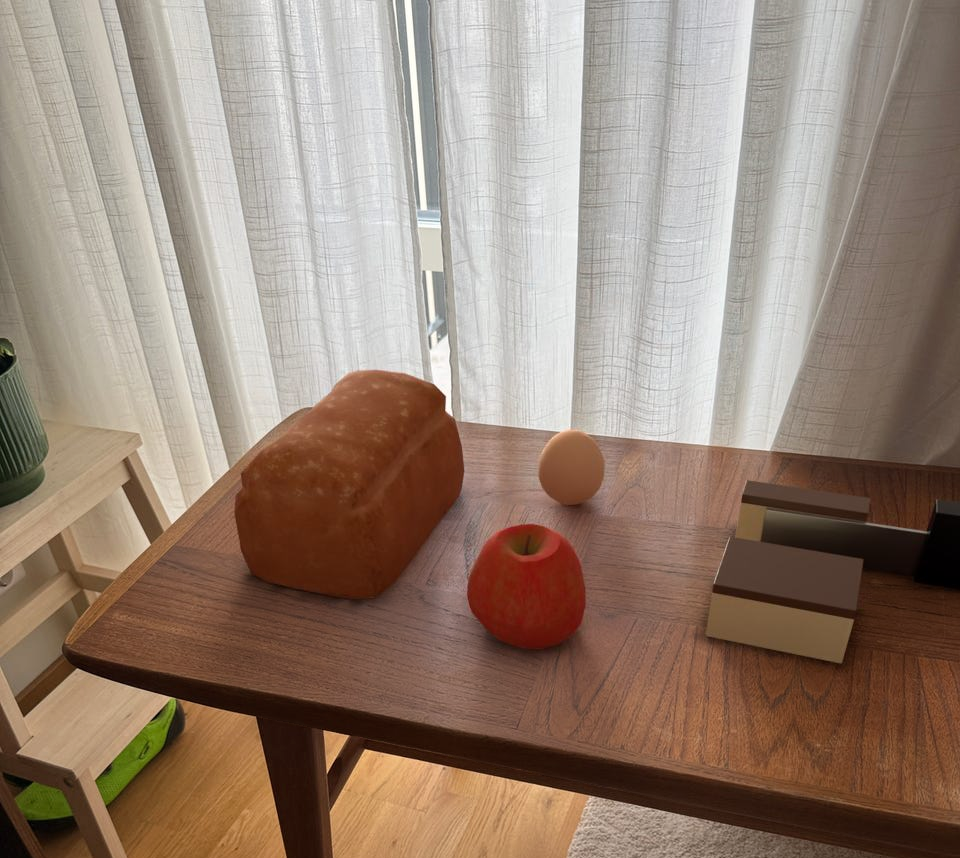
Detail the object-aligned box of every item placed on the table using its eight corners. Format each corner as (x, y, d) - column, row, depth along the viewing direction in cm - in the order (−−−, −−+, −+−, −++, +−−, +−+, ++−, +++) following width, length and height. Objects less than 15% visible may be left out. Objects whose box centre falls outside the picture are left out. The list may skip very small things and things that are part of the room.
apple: (457, 655, 84) (450, 560, 77) (488, 586, 92) (483, 494, 85) (573, 672, 82) (576, 575, 75) (594, 600, 90) (598, 506, 83)
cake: (849, 611, 87) (863, 559, 83) (841, 664, 81) (856, 610, 77) (721, 587, 90) (729, 536, 87) (705, 636, 85) (713, 584, 81)
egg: (553, 479, 108) (554, 412, 102) (612, 491, 105) (616, 423, 100) (527, 509, 103) (526, 441, 97) (588, 523, 100) (591, 453, 95)
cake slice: (856, 548, 94) (870, 497, 91) (854, 564, 92) (868, 513, 89) (738, 529, 98) (746, 479, 94) (734, 544, 96) (742, 494, 92)
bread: (235, 579, 95) (201, 450, 85) (343, 466, 112) (325, 349, 103) (384, 610, 90) (365, 477, 80) (473, 487, 107) (467, 366, 98)
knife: (991, 580, 89) (1018, 510, 84) (992, 595, 88) (1020, 524, 83) (760, 543, 96) (772, 476, 91) (757, 556, 94) (769, 488, 89)
